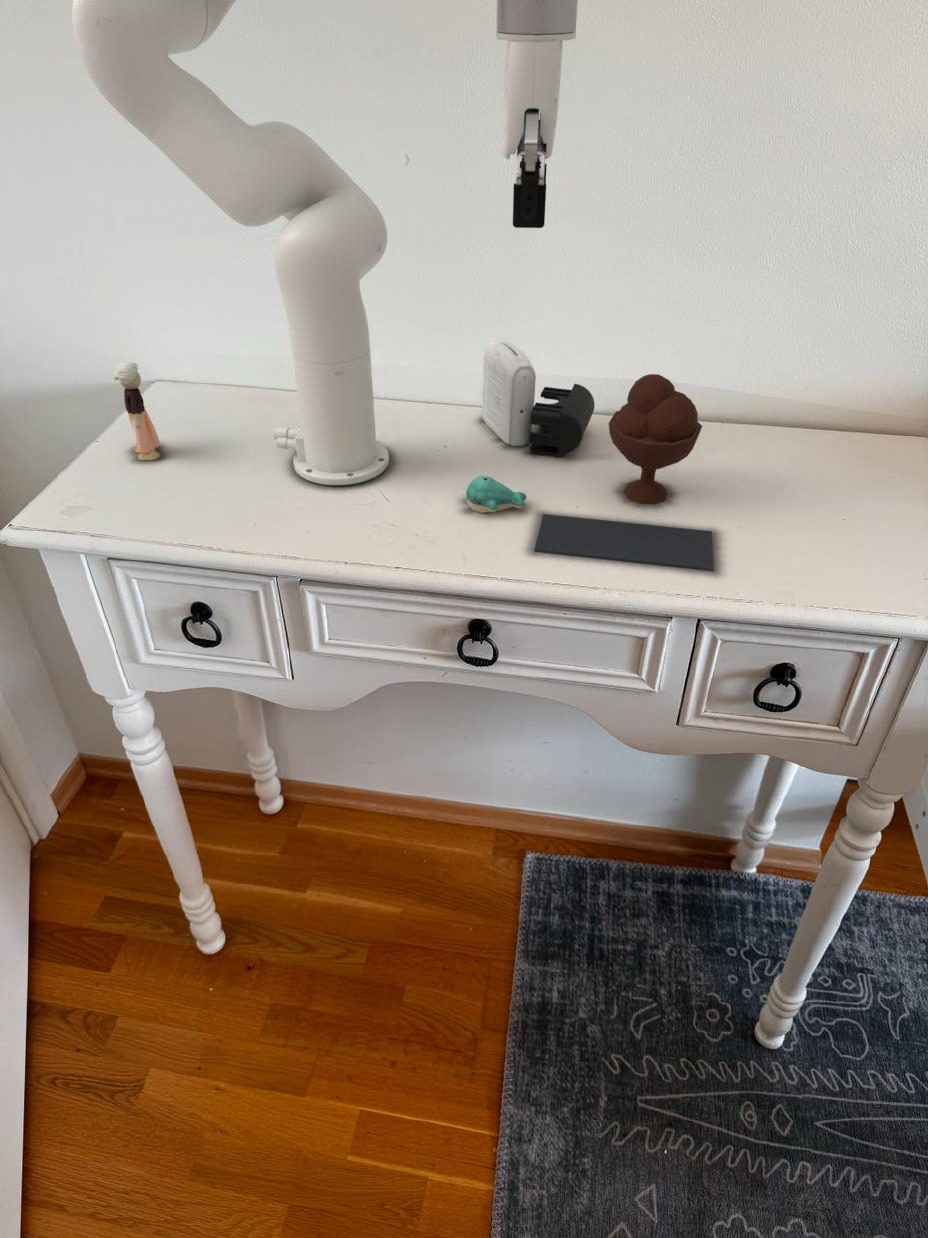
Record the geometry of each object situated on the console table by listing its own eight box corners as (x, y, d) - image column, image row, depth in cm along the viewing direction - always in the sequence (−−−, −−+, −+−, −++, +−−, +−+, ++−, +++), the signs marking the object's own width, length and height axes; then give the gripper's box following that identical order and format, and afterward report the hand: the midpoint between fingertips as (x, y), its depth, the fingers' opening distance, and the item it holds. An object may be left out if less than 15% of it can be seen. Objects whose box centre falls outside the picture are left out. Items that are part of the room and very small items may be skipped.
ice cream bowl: (592, 506, 110) (604, 391, 100) (615, 466, 118) (628, 356, 109) (678, 523, 106) (698, 406, 97) (695, 481, 115) (715, 369, 105)
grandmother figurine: (170, 459, 119) (150, 368, 111) (142, 466, 117) (120, 374, 110) (151, 437, 124) (130, 349, 116) (124, 445, 122) (101, 355, 115)
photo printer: (536, 443, 123) (541, 357, 115) (508, 449, 122) (511, 361, 114) (505, 414, 130) (507, 331, 123) (478, 419, 129) (479, 335, 122)
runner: (534, 551, 101) (534, 549, 101) (543, 515, 108) (543, 513, 108) (713, 571, 98) (713, 568, 98) (711, 533, 105) (711, 531, 104)
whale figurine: (470, 492, 112) (471, 465, 110) (528, 498, 111) (529, 470, 109) (462, 515, 108) (462, 488, 105) (521, 522, 107) (523, 494, 104)
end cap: (579, 462, 119) (583, 415, 114) (528, 455, 120) (530, 408, 116) (592, 430, 126) (596, 385, 122) (543, 424, 128) (546, 379, 124)
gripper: (500, 13, 90) (497, 195, 101) (491, 27, 77) (489, 236, 87) (574, 13, 90) (563, 196, 100) (579, 27, 76) (566, 237, 87)
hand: (529, 214), depth 94 cm, fingers open, 9 cm apart
